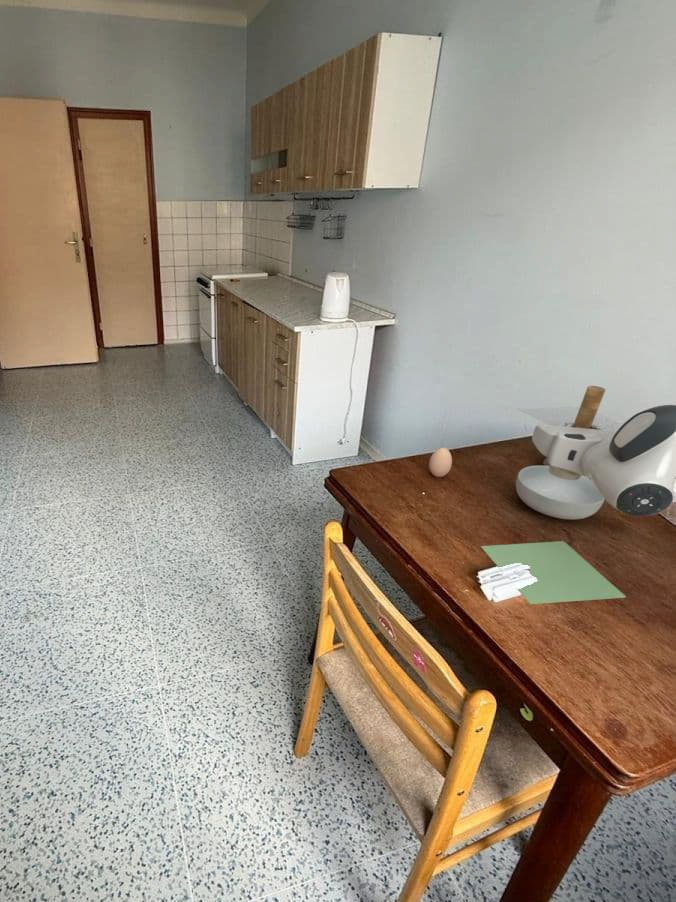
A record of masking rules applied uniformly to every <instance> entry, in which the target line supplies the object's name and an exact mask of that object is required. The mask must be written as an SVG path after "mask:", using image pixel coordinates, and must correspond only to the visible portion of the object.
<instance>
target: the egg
mask: <svg viewBox="0 0 676 902" xmlns="http://www.w3.org/2000/svg"><path fill="white" fill-rule="evenodd" d="M452 465H453V458H452V454H451V452H450V450H449V449H448V448H446V447H439V448H438V449H436V450H435V451H434V452H433V453H432V455H431V456H430V458H429V463H428V468H429V471H430V473H431V474H432V476H434V477H436V478H442V477H444V476H446V475H447V474H448V473H449V472H450V471H451V469H452Z"/></svg>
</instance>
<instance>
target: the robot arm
mask: <svg viewBox="0 0 676 902" xmlns="http://www.w3.org/2000/svg"><path fill="white" fill-rule="evenodd" d="M575 427H576V425H575V424H574V422H564V424H563V425H555V424H542V423H539V424H537V425H536V426H535V427H534V430H533V433H532V437H531V441H532V443H533V445H534V446H535V448H536V449H537V450H538V451H539V453H541V455H543V456H545V458H546V457H548V463H549V464H550V465H551V466H554V467H558V468H562V469H566V470H570V471H573V472H575V473H578V474H580V475H583V476H586V477H587V478H588V479H589V480H591V481H592V483H593V485H594V487H595V489H596V490H597V491H598V492H599V494H600V495H601V496H602V497H603V498H604V499H605V500H604V501H605V502H607V503H608V504H609V506H611V507H612V508H614V509H615V510H616V511H618V512H621V513H623V514H625V515H629V516H634V517H648V516H649V517H650V516H654V515H658V514H660V513H662V512H664V511H666V510H667V509H669V508H670V506H672V503H673V502H674V485H675V483H676V482H675V481H676V404H663V405H658V406H654V407H650V408H647V409H644V410H642V411H640V412H637V413H636V414H634V415H632V416H631V417H630V418H629V419H627V420H626V421H625V422H624V423H623V424H622V425H620V427H619V428H618V429H617V431H615V430H608V429H605V428H602V427H600V426H599V425H598V424H592V426H591V428H590V429H586V428H575Z"/></svg>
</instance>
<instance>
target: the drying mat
mask: <svg viewBox="0 0 676 902" xmlns="http://www.w3.org/2000/svg"><path fill="white" fill-rule="evenodd" d="M480 548H481V549H482V550H483V552H485V553H486V555H487V556H488V557H489V559H491V560H492V562H493V563H494V564H495V565H496V567H497V568H499V567H503V566H506V565H510V564H514V563H521V564H523V565H528V566H530V574H531V575H532V576H534V577H536V578H537V580H538V581H537V582H534V583H533V584H531V585H527V586H525V587H523V588H521V589H517V591H518V592H519V593H520V595H522V597H523V598H524V599H525V600H526V601H527V602H528V604H529V605H536V604H537V605H539V604H551V603H565V602H566V603H567V602H580V601H595V600H609V599H625V598H627V596H626V595H625V594H624V593H623V592H622V591H621V590H620V589H618V588H617V586H615V585H614V584H612V583H611V582H610V581H609V580H608V579H607V578H606V577H605V576H604V575H603V574H601V572H599V571H598V570H597V569H596V567H594V566H593V565H591V564H590V563H589V562H588V561H587V560H586V559H584V558H583V556H581V555H580V554H579V553H578V552H577V551H576V550H574V548H572V547H571V546H570V545H569V544H568V543H567V542H566V541H565V540H559V541H542V542H541V541H539V542H526V543H512V544H511V543H510V544H509V543H508V544H495V545H494V544H493V545H480Z"/></svg>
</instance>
